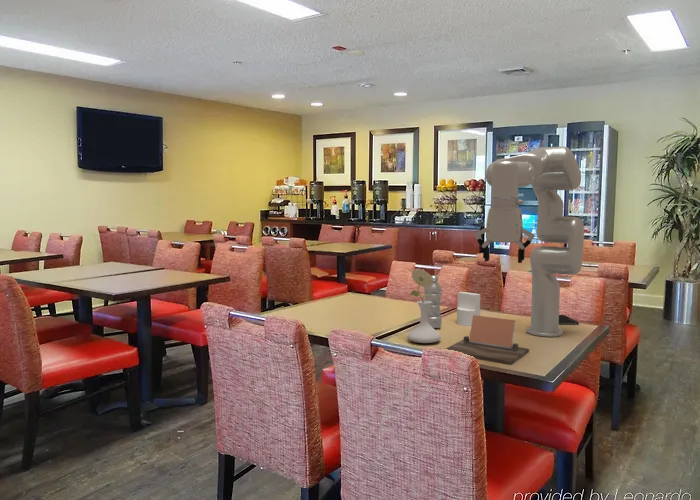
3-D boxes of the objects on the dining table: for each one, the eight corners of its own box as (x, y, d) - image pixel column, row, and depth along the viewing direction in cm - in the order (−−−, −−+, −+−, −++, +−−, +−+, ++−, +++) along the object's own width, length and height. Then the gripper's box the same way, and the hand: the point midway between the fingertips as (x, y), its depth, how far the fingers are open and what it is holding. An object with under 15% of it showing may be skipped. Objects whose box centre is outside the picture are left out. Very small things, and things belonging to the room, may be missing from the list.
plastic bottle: (440, 330, 206) (440, 277, 204) (422, 329, 208) (422, 276, 206) (443, 326, 212) (443, 275, 210) (425, 325, 214) (426, 274, 212)
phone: (559, 323, 215) (545, 314, 230) (559, 325, 215) (545, 317, 230) (580, 322, 215) (564, 314, 230) (580, 325, 215) (564, 317, 230)
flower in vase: (447, 343, 188) (448, 270, 186) (420, 347, 183) (421, 272, 180) (424, 334, 200) (424, 266, 197) (398, 339, 194) (398, 268, 192)
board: (464, 341, 190) (464, 332, 190) (528, 351, 177) (529, 341, 177) (442, 353, 176) (442, 343, 176) (511, 364, 164) (511, 354, 163)
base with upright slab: (452, 323, 218) (452, 293, 217) (466, 320, 224) (466, 290, 223) (470, 327, 211) (471, 296, 210) (484, 323, 217) (485, 293, 216)
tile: (474, 315, 186) (473, 315, 185) (515, 320, 178) (514, 320, 177) (470, 343, 184) (468, 342, 183) (511, 349, 176) (510, 349, 175)
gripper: (537, 203, 162) (535, 261, 164) (478, 203, 170) (477, 259, 172) (533, 204, 155) (531, 264, 157) (472, 204, 163) (471, 261, 165)
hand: (503, 261), depth 164 cm, fingers open, 9 cm apart
